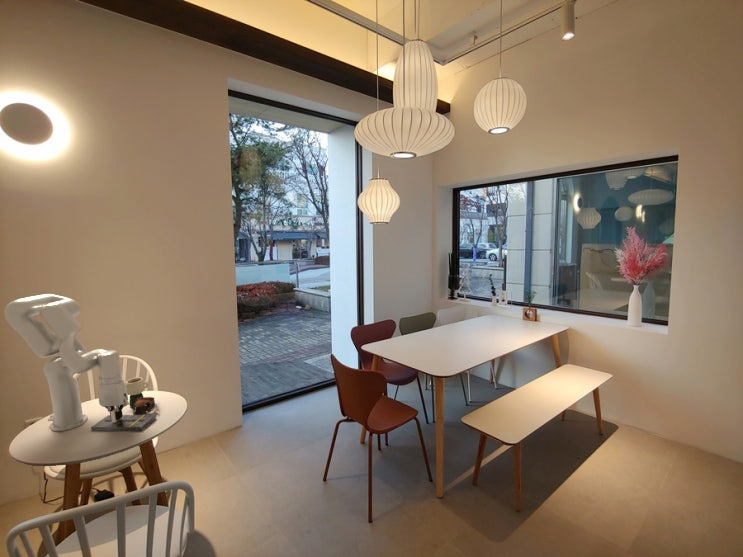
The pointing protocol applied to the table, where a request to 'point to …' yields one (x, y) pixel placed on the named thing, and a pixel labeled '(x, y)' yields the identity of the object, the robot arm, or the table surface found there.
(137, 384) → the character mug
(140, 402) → the pottery mug
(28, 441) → the table surface
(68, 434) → the table surface
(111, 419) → the fader tab
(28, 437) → the table surface
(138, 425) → the console
